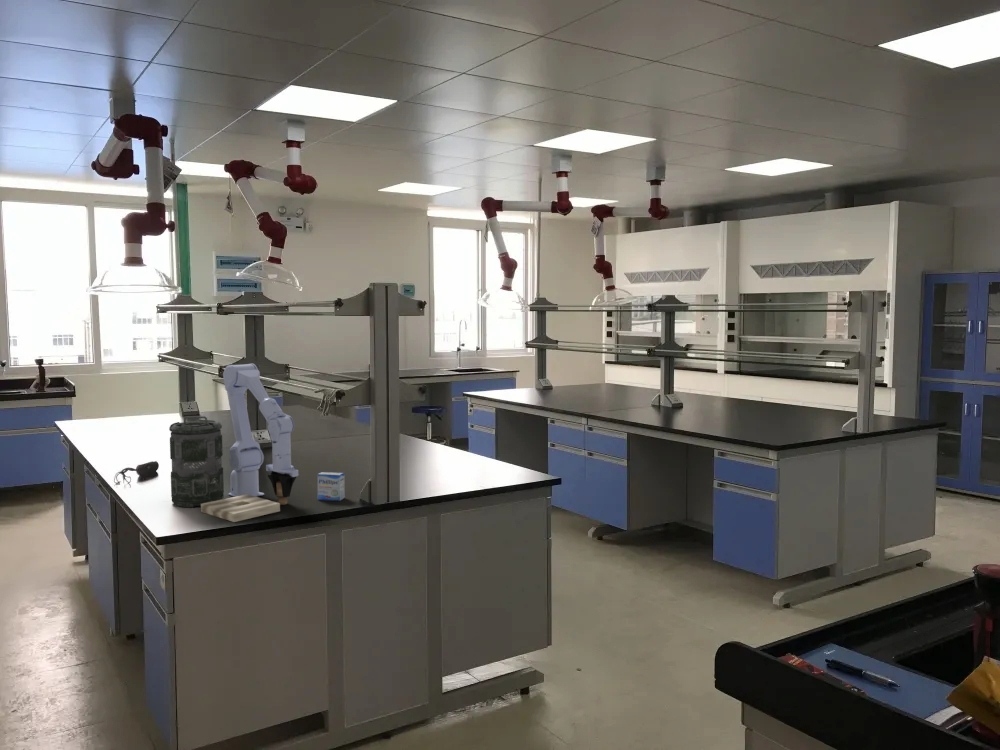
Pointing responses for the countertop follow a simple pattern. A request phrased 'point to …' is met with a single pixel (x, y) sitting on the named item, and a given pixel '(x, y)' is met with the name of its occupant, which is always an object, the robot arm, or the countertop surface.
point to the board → (240, 507)
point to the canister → (196, 462)
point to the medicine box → (331, 486)
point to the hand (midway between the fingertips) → (282, 495)
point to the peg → (280, 494)
